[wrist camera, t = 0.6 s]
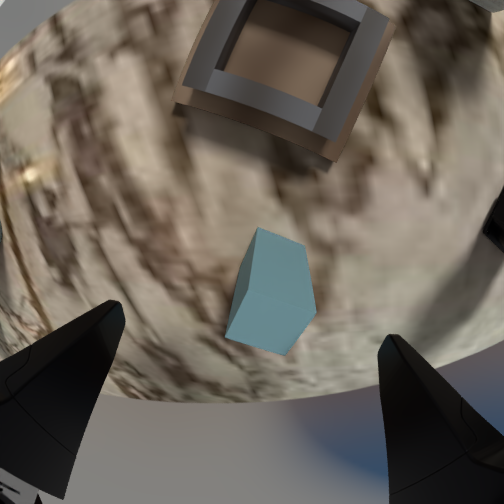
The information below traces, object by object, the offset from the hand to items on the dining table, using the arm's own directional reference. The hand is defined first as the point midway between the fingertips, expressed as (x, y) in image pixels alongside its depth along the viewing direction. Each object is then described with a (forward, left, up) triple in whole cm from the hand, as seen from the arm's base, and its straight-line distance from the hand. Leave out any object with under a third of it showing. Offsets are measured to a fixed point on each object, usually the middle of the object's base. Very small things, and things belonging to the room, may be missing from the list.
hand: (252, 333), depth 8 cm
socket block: (+3, -11, -13) cm, 17 cm away
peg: (-2, +4, -13) cm, 14 cm away
